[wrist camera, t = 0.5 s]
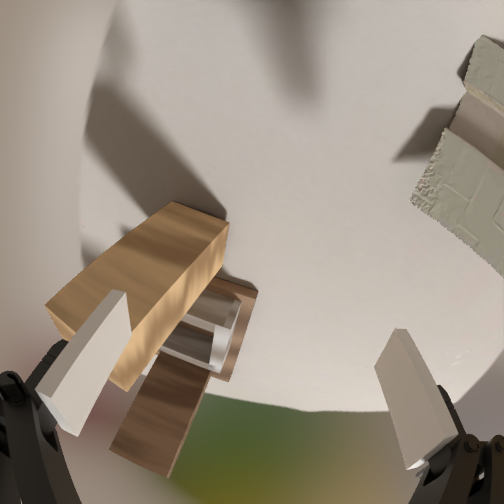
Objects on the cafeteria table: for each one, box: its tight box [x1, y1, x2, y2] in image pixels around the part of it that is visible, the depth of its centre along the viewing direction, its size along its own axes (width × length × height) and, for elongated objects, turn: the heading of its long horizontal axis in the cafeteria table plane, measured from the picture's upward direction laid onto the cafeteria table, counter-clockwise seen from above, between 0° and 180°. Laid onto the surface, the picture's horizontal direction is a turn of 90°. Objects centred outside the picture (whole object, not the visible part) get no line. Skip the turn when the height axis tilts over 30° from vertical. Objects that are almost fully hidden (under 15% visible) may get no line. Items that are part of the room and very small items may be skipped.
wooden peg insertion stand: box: [109, 277, 258, 478], centre depth 28 cm, size 21×14×20 cm, turn 168°
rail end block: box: [45, 201, 230, 392], centre depth 20 cm, size 5×6×15 cm
